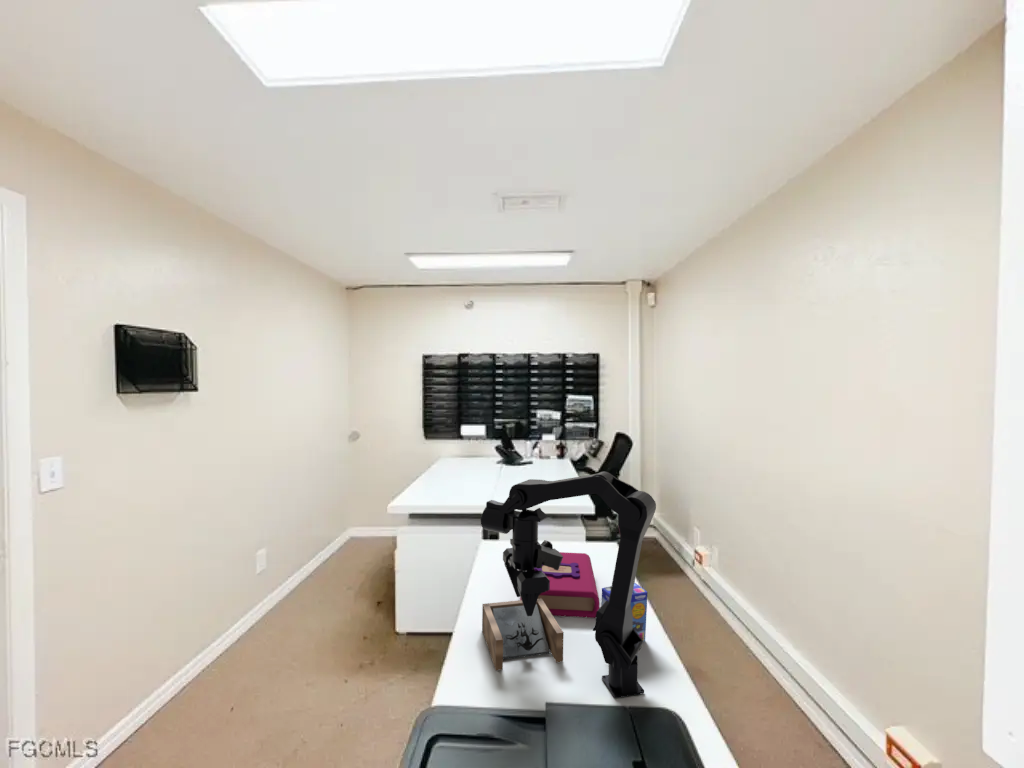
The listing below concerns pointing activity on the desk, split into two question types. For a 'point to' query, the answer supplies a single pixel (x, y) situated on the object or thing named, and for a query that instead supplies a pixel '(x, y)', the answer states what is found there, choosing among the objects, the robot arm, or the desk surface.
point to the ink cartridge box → (634, 607)
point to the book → (571, 587)
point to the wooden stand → (496, 641)
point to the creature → (527, 644)
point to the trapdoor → (509, 626)
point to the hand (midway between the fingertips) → (524, 605)
